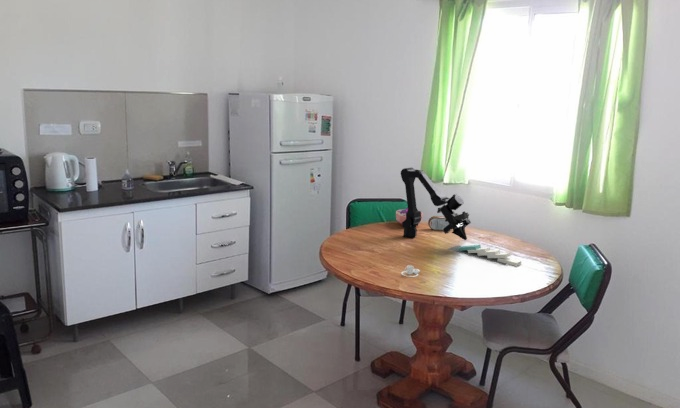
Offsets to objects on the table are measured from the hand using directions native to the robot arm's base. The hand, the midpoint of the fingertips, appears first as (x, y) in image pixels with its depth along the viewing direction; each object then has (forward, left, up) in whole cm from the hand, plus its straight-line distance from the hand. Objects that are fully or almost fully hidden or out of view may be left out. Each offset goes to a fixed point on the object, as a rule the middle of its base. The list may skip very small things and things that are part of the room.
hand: (466, 239), depth 274 cm
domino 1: (+3, -1, -5) cm, 6 cm away
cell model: (-42, +36, -7) cm, 56 cm away
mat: (+8, -3, -7) cm, 11 cm away
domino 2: (+8, -3, -5) cm, 10 cm away
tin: (-22, +36, -7) cm, 43 cm away
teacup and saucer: (-12, -48, -7) cm, 50 cm away
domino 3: (+13, -5, -5) cm, 15 cm away
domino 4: (+19, -7, -5) cm, 20 cm away
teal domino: (-2, +1, -5) cm, 6 cm away
